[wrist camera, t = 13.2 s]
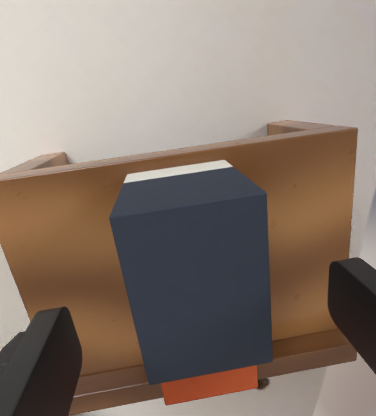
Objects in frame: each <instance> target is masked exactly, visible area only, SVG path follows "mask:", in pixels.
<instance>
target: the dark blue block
mask: <svg viewBox="0 0 376 416" xmlns="http://www.w3.org/2000/svg"><path fill="white" fill-rule="evenodd" d="M109 221H110V225H111V229H112V233H113V237H114V242H115V246H116V250H117V254H118V258H119V262H120V267H121V271H122V275H123V279H124V283H125V288H126V292H127V296H128V300H129V304H130V309H131V313H132V317H133V321H134V325H135V330H136V334H137V338H138V342H139V346H140V351H141V355H142V359H143V363H144V367H145V372H146V376H147V380H148V384H149V385H154V384H160V383H161V387H162V391H163V396H164V401H165V404H166V405H171V404H177V403H182V402H187V401H192V400H197V399H202V398H208V397H213V396H218V395H223V394H228V393H233V392H239V391H244V390H249V389H254V388H258V380H257V365H260V364H265V363H271V362H273V348H272V321H271V294H270V267H269V239H268V212H267V193H266V192H265V191H264V190H263V189H261V188H260V187H259V186H258V185H256V184H255V183H254V182H253V181H251V180H250V179H249V178H247V177H246V176H245V175H244V174H242V173H241V172H240V171H239V170H237V169H236V168H235V167H233V166H232V165H231V164H229V163H228V162H227V161H225V160H219V161H212V162H206V163H199V164H192V165H186V166H179V167H172V168H165V169H159V170H152V171H145V172H138V173H132V174H127V176H126V178H125V181H124V183H123V185H122V187H121V190H120V192H119V195H118V197H117V199H116V202H115V204H114V207H113V209H112V211H111V214H110V216H109Z"/></svg>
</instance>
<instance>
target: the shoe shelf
mask: <svg viewBox="0 0 376 416" xmlns="http://www.w3.org/2000/svg"><path fill="white" fill-rule="evenodd" d="M267 133H268V136H263V137H256V138H249V139H242V140H235V141H228V142H221V143H214V144H207V145H201V146H194V147H187V148H180V149H173V150H166V151H159V152H152V153H145V154H138V155H131V156H124V157H118V158H111V159H104V160H97V161H90V162H83V163H76V164H69V165H68V162H67V158H66V155H65V152H61V153H54V154H47V155H41V156H38V157H36V158H34V159H32V160H29V161H27V162H25V163H22V164H20V165H18V166H16V167H13V168H11V169H9V170H6V171H4V172H2V173H0V244H1V246H2V249H3V252H4V254H5V257H6V259H7V262H8V265H9V267H10V270H11V272H12V275H13V277H14V280H15V283H16V285H17V288H18V290H19V293H20V295H21V298H22V301H23V303H24V306H25V308H26V311H27V313H28V316H29V319H30V321H32V319H33V317H34V315H35V314H36V313H37V312H38V311H41V310H47V309H53V308H59V307H64V306H65V307H67V308H68V309H69V311H70V314H71V317H72V320H73V323H74V326H75V329H76V332H77V335H78V338H79V341H80V344H81V348H82V368H81V372H80V376H79V379H78V383H77V386H76V390H75V394H74V397H73V401H72V404H71V408H70V411H69V415H74V414H79V413H84V412H90V411H95V410H100V409H105V408H110V407H116V406H121V405H126V404H131V403H137V402H142V401H147V400H152V399H157V398H163V397H164V396H163V391H162V387H161V383H160V384H154V385H149V384H148V380H147V376H146V372H145V367H144V363H143V359H142V355H141V351H140V346H139V342H138V338H137V334H136V330H135V325H134V321H133V317H132V313H131V309H130V304H129V300H128V296H127V292H126V288H125V283H124V279H123V275H122V271H121V267H120V262H119V258H118V254H117V250H116V246H115V242H114V237H113V233H112V229H111V225H110V221H109V216H110V214H111V211H112V209H113V207H114V204H115V202H116V199H117V197H118V195H119V192H120V190H121V187H122V185H123V183H124V181H125V178H126V176H127V174H132V173H138V172H145V171H152V170H159V169H165V168H172V167H179V166H186V165H192V164H199V163H206V162H212V161H219V160H225V161H227V162H228V163H229V164H231V165H232V166H233V167H235V168H236V169H237V170H239V171H240V172H241V173H242V174H244V175H245V176H246V177H247V178H249V179H250V180H251V181H253V182H254V183H255V184H256V185H258V186H259V187H260V188H261V189H263V190H264V191H265V192H266V193H267V212H268V239H269V267H270V294H271V321H272V348H273V362H271V363H265V364H260V365H257V379H262V378H267V377H272V376H278V375H283V374H288V373H293V372H299V371H304V370H309V369H314V368H319V367H325V366H330V365H335V364H340V363H346V362H351V361H355V360H356V357H357V351H356V349H355V348H354V347H353V346H352V344H351V343H350V342H349V341H348V339H347V338H346V337H345V336H344V335H343V333H342V332H341V331H340V330H339V328H338V327H337V326H336V325H335V323H334V322H333V320H332V318H331V316H330V313H329V310H328V303H327V301H328V281H329V266H330V264H331V262H333V261H338V260H344V259H349V248H350V234H351V219H352V205H353V191H354V177H355V162H356V148H357V134H358V128H354V127H345V126H335V125H326V124H317V123H308V122H299V121H291V120H286V121H279V122H272V123H268V124H267ZM69 415H68V416H69Z"/></svg>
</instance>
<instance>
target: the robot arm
mask: <svg viewBox="0 0 376 416" xmlns="http://www.w3.org/2000/svg"><path fill="white" fill-rule="evenodd" d="M327 303H328V310H329V313H330V316H331V318H332V320H333V322H334V323H335V325H336V326H337V327H338V328H339V330H340V331H341V332H342V333H343V335H344V336H345V337H346V338H347V339H348V341H349V342H350V343H351V344H352V346H353V347H354V348H355V349H356V351H357V352H358V353H359V354H360V355H361V357H362V358H363V359H364V360H365V362H366V363H367V364H368V365H369V367H370V368H371V369H372V370H373V372H374V373H375V374H376V270H375V269H374V268H373V267H371V266H370V265H369V264H367V263H366V262H365V261H364V260H362V259H361V258H357V257H356V258H350V259H344V260H338V261H333V262H331V264H330V266H329V281H328V301H327ZM81 368H82V348H81V344H80V341H79V338H78V335H77V332H76V329H75V326H74V323H73V320H72V317H71V314H70V311H69V309H68V308H67V307H65V306H64V307H59V308H53V309H47V310H41V311H38V312H37V313H36V314H35V315H34V317H33V319H32V321H31V322H30V324H29V326H28V328H27V329H26V331H25V332H20V333H18V334H17V335H16V336H15V337H14V338H13V339H12V340H11V341H10V342H9V343H8V344H7V345H6V346H5V347H4V348H2V350H1V352H0V416H68V415H69V411H70V408H71V404H72V401H73V397H74V394H75V390H76V386H77V383H78V379H79V376H80V372H81Z"/></svg>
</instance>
